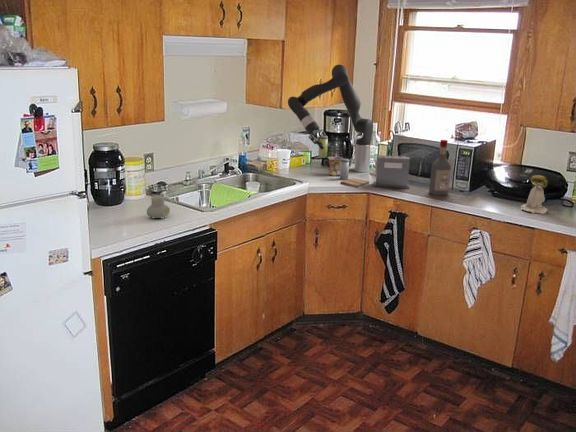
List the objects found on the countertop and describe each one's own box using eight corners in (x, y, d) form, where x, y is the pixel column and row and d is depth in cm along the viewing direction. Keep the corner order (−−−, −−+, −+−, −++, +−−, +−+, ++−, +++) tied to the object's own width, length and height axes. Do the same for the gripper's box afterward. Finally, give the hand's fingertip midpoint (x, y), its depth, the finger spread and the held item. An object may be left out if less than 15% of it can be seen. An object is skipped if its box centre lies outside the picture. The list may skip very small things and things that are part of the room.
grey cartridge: (342, 177, 365) (343, 158, 361) (349, 178, 362) (351, 159, 358) (338, 179, 361) (339, 159, 357) (345, 180, 358) (346, 160, 354)
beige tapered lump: (516, 206, 313) (521, 172, 308) (540, 207, 314) (545, 173, 309) (526, 213, 302) (531, 178, 297) (550, 213, 303) (556, 178, 297)
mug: (342, 173, 375) (343, 156, 372) (342, 177, 366) (343, 160, 363) (323, 172, 376) (324, 156, 373) (322, 176, 367) (323, 159, 364)
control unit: (373, 182, 354) (375, 154, 349) (407, 184, 352) (410, 156, 347) (374, 186, 345) (376, 157, 340) (409, 188, 344) (411, 159, 338)
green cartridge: (321, 155, 357) (322, 135, 353) (328, 156, 353) (329, 136, 350) (316, 156, 353) (317, 136, 349) (323, 158, 350) (324, 137, 346)
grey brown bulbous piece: (161, 221, 276) (160, 200, 273) (145, 219, 278) (143, 199, 275) (171, 214, 286) (171, 194, 283) (156, 213, 288) (155, 193, 285)
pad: (351, 180, 359) (351, 178, 359) (368, 183, 352) (369, 181, 352) (340, 183, 350) (340, 181, 350) (357, 187, 343) (358, 185, 343)
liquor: (450, 195, 332) (456, 141, 323) (435, 196, 330) (441, 142, 321) (441, 190, 341) (446, 138, 331) (427, 191, 338) (432, 139, 329)
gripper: (313, 127, 361) (328, 149, 358) (298, 130, 351) (314, 153, 347) (320, 119, 357) (336, 142, 353) (306, 122, 346) (322, 145, 342)
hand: (325, 147), depth 350 cm, fingers closed on green cartridge, 5 cm apart
